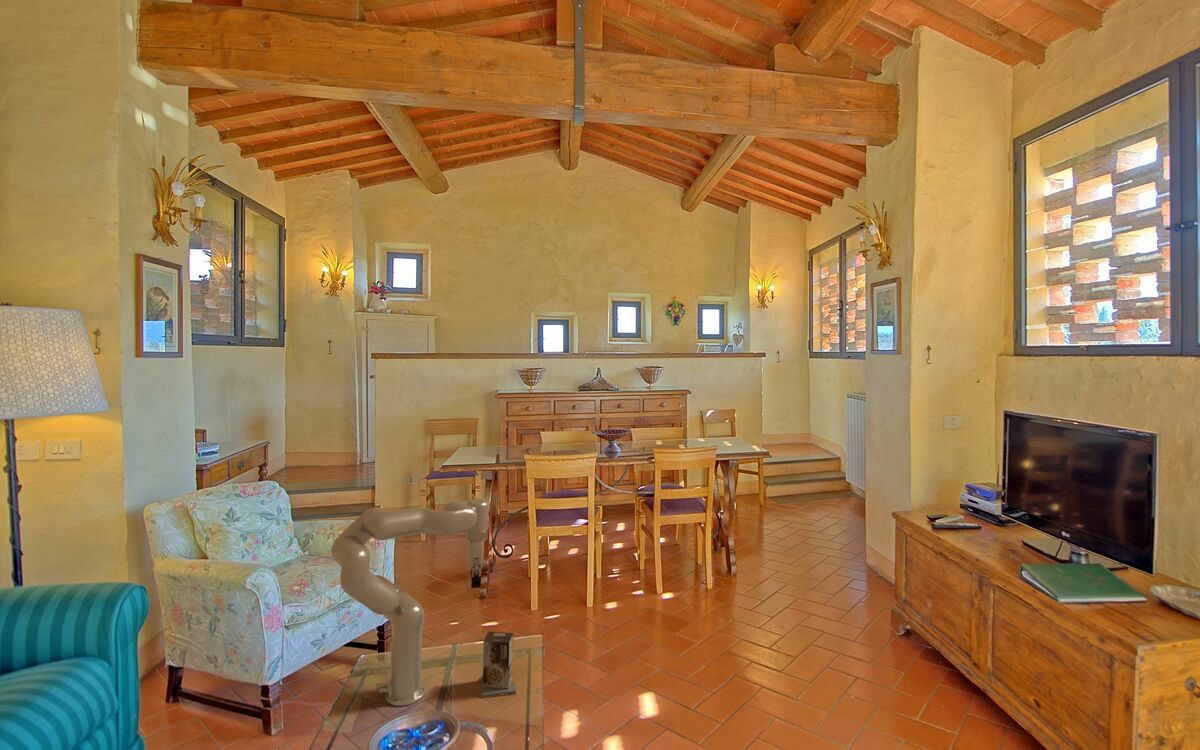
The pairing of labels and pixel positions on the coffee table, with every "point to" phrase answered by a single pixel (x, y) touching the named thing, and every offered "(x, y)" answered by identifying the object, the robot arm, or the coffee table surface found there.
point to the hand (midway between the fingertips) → (475, 581)
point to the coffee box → (497, 659)
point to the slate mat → (497, 690)
